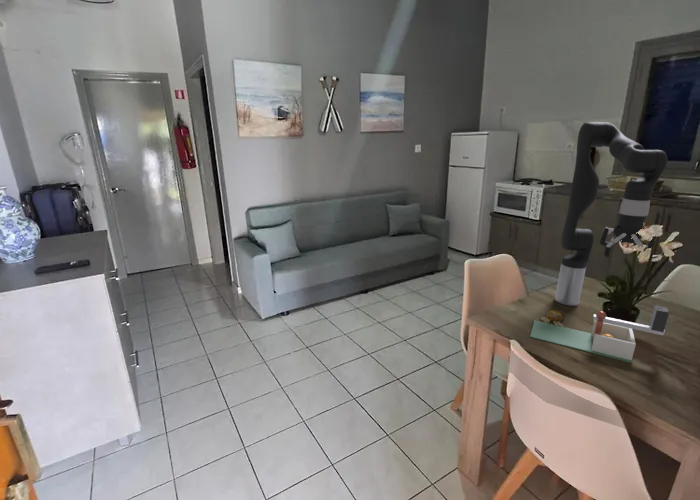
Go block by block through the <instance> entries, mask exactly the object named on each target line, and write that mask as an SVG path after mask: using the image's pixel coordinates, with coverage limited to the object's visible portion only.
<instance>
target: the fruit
mask: <svg viewBox="0 0 700 500" xmlns="http://www.w3.org/2000/svg"><path fill="white" fill-rule="evenodd" d="M545 315H546V317H545V316H542V317H540V319H541V322H544V323H549V324H550V322H552V323H553V325H557V326H562V327H565V326H564V324H563V323H562V322H563V319H564V316H563V314H562V312H560V311H558V310H552V309H551V310H549V311H548V312H547V313H546V314H545Z"/></svg>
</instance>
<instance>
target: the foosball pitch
mask: <svg viewBox="0 0 700 500" xmlns="http://www.w3.org/2000/svg"><path fill="white" fill-rule="evenodd" d="M544 322H545V321H544ZM544 322H543V321H539V320H535V319H534V321H533V326H532V328H531V332H530V335H529V337H530V339H531V338H532V339H534V340H535V339H536V340H539V341H544V342H547V343H552V344H556V345H559V346H564V347H566V348H567V347H568V348H571V349H576V350H579V351H582V352H587V353H591V354H594V355H599V356H602V357H606V358H611V359H615V360H618V361H622V362H626V363H630V364H632V363H633V361H632V360H633V356H634V353H635V349H636V345H637V344H636V339H635V335H634V331H633V330H634V329H631V328H626V327H622V326H617V325H612V324H608V323H603V325H602V330H601V334H600V335H599V334H595V336H594V340H593V344H592V338H593V333H594V329H595V325H596V321H594V320H593V325H592V330H591V332H588V331H587V332H586V331H584V330H583V331H582V330H577V329H574V328H570V327H566V326H564V327H562V326H561V325H560V326H559V325H555V324H554V323H553V324H552V323H550V322H549V323H544ZM603 334H610V335H612V336H613V337H614V338H612V337H607V336H603Z"/></svg>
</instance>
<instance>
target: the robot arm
mask: <svg viewBox="0 0 700 500" xmlns="http://www.w3.org/2000/svg"><path fill="white" fill-rule="evenodd" d="M579 128H580V129H579V131H578V135H577V141H576V142H577V143H576V146H577V147H576V156H575V166H574V172H573V176H572V177H573V178H572V182H571V187H570V188H571V189H570V195H569V201H568V202H569V203H568V206H567V207H568V208H567V214H566V218H565V220H564V225H563V230H562V234H561V238H560V239H561V240H560V241H561V243H560V244H561V247H562V249H563V250H565V251H566V250H567V251H574V252H573V253H570V254H567V255H564V256H563V257H562V259H561V261H560V262H561V263H560V269H559V274H558V278H557V279H558V280H557V286H556V289H555V290H556V291H555V296H554V300H555V301H556V302H557V303H559V304H562V305H565V306H569V307H570V306H572V307H573V306H579V304H580V299H581V294H582V290H583V285H584V279H585V275H586V269H587V265H588V263H589V260H590V257H591V253H592V249H593V246H594V241H595V236H594V232H593V230H591V229H590V228H577V225H578V223H579V220H580V219H581V218H582V216H583V214H585V212H586V211H587V210H588V209H589V208H590V207H591V206H592V205H593V204H594V202H595V201H596V199H597V196H598V192H599V186H600V178H599V176H598V173H597V172H596V169H595V168H594V166H593V163H592V160H591V148H602V147H607V148H609V154H610V155H611V156H612V157H613V158H614V159H616V160H618V161H620V163H621V164H622V166H623V168H624V169H625V171H628V172H630V173H635V174H639V173H640V174H641V173H642V175H641V177H640V178H637V179H632V180H630V181H628V182H627V183H626V185H625V189H624V194H623V198H622V201H621V203H620V207H619V210H618V211H619V212H618V215H617V220H616V224H615V226H614V228H613V227H612V228H611V227H608V226H604V227H603V230H602V233H601V237H600V241H599V242H600V243H599V244H600V245H601V246H604V247H605V249H604V252H603V254H604V257H605V258H608V259H609V258H610V253H611V249H612V248H611V246H613V245H615V244H616V243H618V242H620V243H622V244H623V243H628V244H636V246H637V248H639V247H640V246H641V247H643V246H644V244H643V242H642V241H641V240H640V239H642V238H643V237H641V236H639V234H638V233H637V234H636V232H638V231H639V230H640V229H642V228H643V227H644V226H643V222H644V223H645V224H646V223H647V220H648V215H649V213H650V206H651V204H650V203H651V200H652V194H653V191H654V188H655V186H656V184H657V183H658V181H659V180H660V179H659V178H661V176H662V174H663V172H664V171H665V170H666V169H665V168H666V167H667V165H668V155H667V153H666V152H665V151H664V150H661V149H645V148H644V146H643V145H642V144H640V143H639V142H636V141H635V140H633V139H630V138H629V137H627V136H626V135H625V134H623V132H621V130H619V129H618V127H616V126H615V125H614V124H613V123H611V122H608V121H607V122H605V121H600V122H599V121H587V122H584V123H583V124H582V125H581V127H579ZM644 228H645V227H644ZM611 233H613V234H614V236H613V237H612V238H611V239H610V240H609V241H606V240H607V237H608V235H610V234H611ZM632 237H633V238H632ZM631 238H632V239H631ZM655 239H656V236H655V237H653V239H652V240H651V241H648V240H647V245H645V246H646V248H651V247H653V248H654V247H655ZM621 240H622V241H621ZM635 261H636V262H637V263H639V262H638V259H637V258H636V260H635Z"/></svg>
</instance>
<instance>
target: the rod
mask: <svg viewBox="0 0 700 500" xmlns="http://www.w3.org/2000/svg"><path fill="white" fill-rule="evenodd" d="M669 315H670V312H669V309H668V307H666V306H660V305H654V308H653V310H652V315H651V319H650V322H649V325H646V324H643V323H642V324H641V323H637V322H632V321H627V320H624V319H623V320H622V319H619V318H618V319H617V318H614V317H608V316H607V314H606V312H605V311H602V310H599V311H597V312H596V314H593V317H592V321H593V322H594V321H596V325H595V329H594V333H593V338H592V344H593V340H594V336H595V334H599V335H600V334H601V330H602V325H603V323H608V324H612V325H617V326H622V327H626V328H631V329H632V330H636V331H641V332H644V333H648V334H649V333H651V334H655V335H660V336H664V335H665V333H666V332H665V328H666V324H667V320H668V319H669Z"/></svg>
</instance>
